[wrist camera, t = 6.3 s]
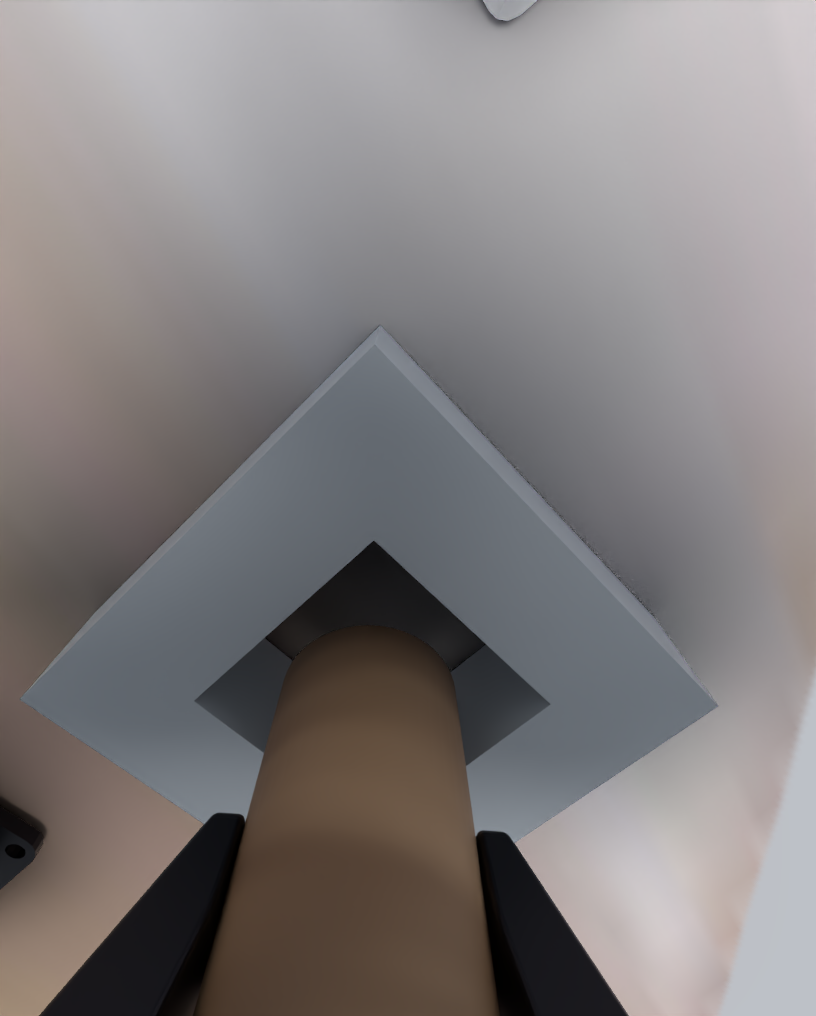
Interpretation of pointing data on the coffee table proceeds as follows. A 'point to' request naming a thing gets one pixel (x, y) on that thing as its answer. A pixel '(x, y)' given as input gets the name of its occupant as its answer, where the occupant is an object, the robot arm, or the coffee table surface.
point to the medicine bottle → (508, 8)
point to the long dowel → (357, 847)
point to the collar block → (418, 549)
